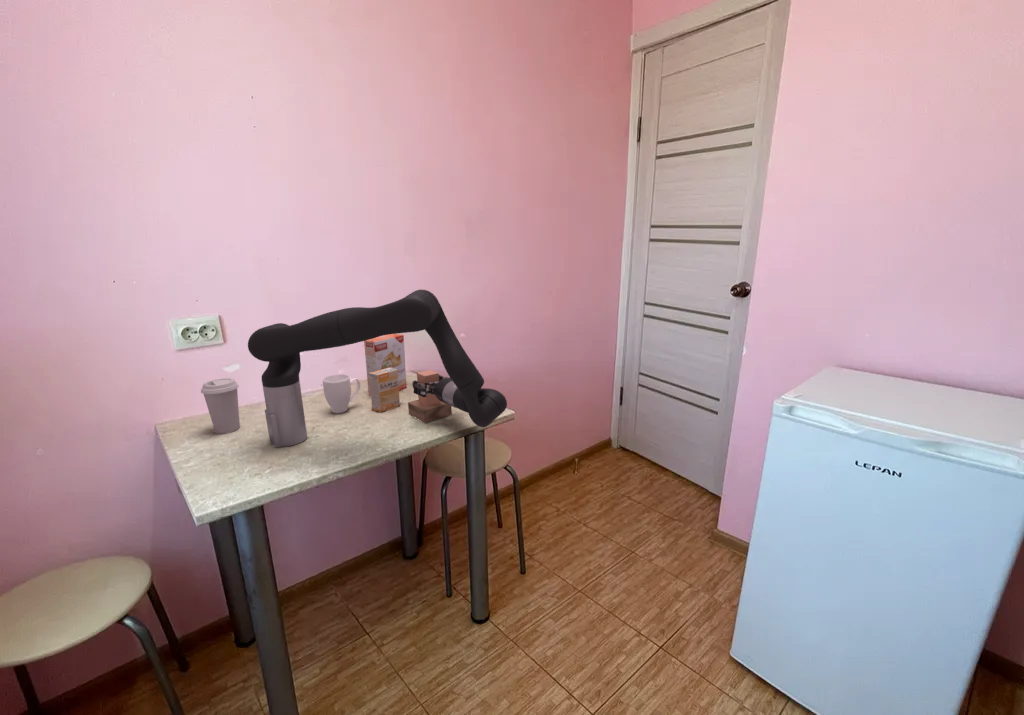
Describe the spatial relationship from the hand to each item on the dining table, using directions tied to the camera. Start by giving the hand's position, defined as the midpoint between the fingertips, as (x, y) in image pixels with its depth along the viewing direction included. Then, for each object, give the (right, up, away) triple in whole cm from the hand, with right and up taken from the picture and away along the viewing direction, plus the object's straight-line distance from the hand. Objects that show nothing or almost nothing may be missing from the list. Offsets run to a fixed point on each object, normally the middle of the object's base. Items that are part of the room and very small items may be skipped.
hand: (425, 380), depth 147 cm
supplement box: (-15, -10, +8) cm, 19 cm away
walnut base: (+1, -11, +2) cm, 11 cm away
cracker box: (-18, -6, +24) cm, 31 cm away
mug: (-28, -10, +7) cm, 31 cm away
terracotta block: (+1, -7, +1) cm, 7 cm away
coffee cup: (-59, -14, -8) cm, 61 cm away
